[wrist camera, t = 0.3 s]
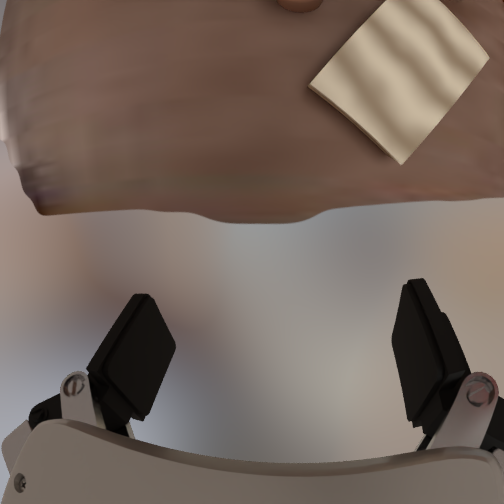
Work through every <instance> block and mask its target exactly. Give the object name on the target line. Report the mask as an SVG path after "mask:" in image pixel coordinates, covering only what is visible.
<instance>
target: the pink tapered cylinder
mask: <svg viewBox="0 0 504 504" xmlns="http://www.w3.org/2000/svg"><path fill="white" fill-rule="evenodd" d="M276 1H277V2H278V3H279V4H280V5H281V6H282V7H283V8H285V9H287V10H289V11H293V12H299V13H304V12H310V11H313V10H315V9H316V8H318V7H319V6H320V5H321V3H322V1H323V0H276Z"/></svg>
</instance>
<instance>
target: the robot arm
mask: <svg viewBox="0 0 504 504" xmlns="http://www.w3.org/2000/svg"><path fill="white" fill-rule="evenodd" d="M392 347H393V351H394V355H395V359H396V364H397V368H398V372H399V377H400V382H401V387H402V391H403V397H404V402H405V408H406V414H407V419H408V421H412V423H413V428H415V427H419V426H422V429H423V433H424V434H425V435H424V436H423V438H422V439H421V441H420V443H419V444H418V446H417V448H416V449H415V451H414V452H410V453H404V454H399V455H393V456H386V457H380V458H372V459H364V460H354V461H343V462H328V463H268V462H252V461H242V460H232V459H224V458H217V457H211V456H205V455H199V454H194V453H188V452H184V451H179V450H174V449H170V448H165V447H161V446H157V445H154V444H150V443H146V442H143V441H139V440H136V439H135V437H134V434H133V431H132V428H131V425H130V422H129V420H130V418H131V417H132V418H133V419H136V420H140V421H144V419H145V416H147V415H148V414H149V413H150V410H151V408H152V405H153V403H154V400H155V398H156V395H157V393H158V390H159V388H160V386H161V383H162V381H163V378H164V376H165V374H166V371H167V369H168V366H169V364H170V361H171V359H172V357H173V354H174V352H175V349H176V344H175V341H174V339H173V337H172V335H171V333H170V331H169V329H168V327H167V326H166V323H165V322H164V319H163V317H162V315H161V313H160V311H159V309H158V307H157V305H156V303H155V300H154V299H153V298H151V297H150V295H149V294H134V295H133V296H132V298H131V299H130V301H129V302H128V303H127V305H126V306H125V308H124V309H123V311H122V312H121V314H120V316H119V317H118V319H117V320H116V322H115V323H114V325H113V326H112V328H111V329H110V331H109V332H108V334H107V336H106V337H105V339H104V340H103V342H102V343H101V345H100V346H99V348H98V350H97V351H96V353H95V355H94V356H93V358H92V359H91V361H90V363H89V365H88V366H87V368H86V369H87V371H88V372H89V374H88V375H86V374H85V373H84V372H82V371H76V372H73V373H71V374H69V375H68V376H67V377H66V378H65V379H64V380H63V382H62V384H61V387H60V393H59V394H57V395H55V396H53V397H51V398H49V399H47V400H45V401H43V402H41V403H39V404H37V405H36V406H34V408H32V410H31V412H30V414H29V421H28V420H25V421H24V422H23V423H22V424H21V425H20V426H19V427H17V428H16V429H15V430H14V431H13V432H12V433H11V434H10V435H8V436H7V437H6V438H5V440H4V441H3V443H2V453H3V457H4V460H5V462H6V465H7V468H8V471H9V473H10V478H9V481H8V483H7V486H6V489H5V492H4V496H3V498H2V502H1V504H504V399H503V398H501V397H499V396H498V394H499V391H498V386H497V384H496V382H495V380H494V379H493V378H492V377H491V376H489V375H488V374H486V373H483V372H474V373H472V374H471V371H470V368H469V366H468V363H467V361H466V358H465V356H464V353H463V351H462V348H461V346H460V344H459V341H458V339H457V336H456V334H455V332H454V330H453V328H452V325H451V323H450V321H449V319H448V317H447V315H446V314H445V313H444V312H441V311H440V309H439V307H438V305H437V303H436V301H435V298H434V297H433V295H432V293H431V291H430V289H429V287H428V285H427V283H426V281H425V280H424V279H423V278H420V279H411V280H408V282H407V284H404V285H403V287H402V292H401V297H400V303H399V307H398V312H397V316H396V321H395V325H394V329H393V333H392Z"/></svg>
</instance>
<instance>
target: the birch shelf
mask: <svg viewBox="0 0 504 504" xmlns="http://www.w3.org/2000/svg"><path fill="white" fill-rule="evenodd" d="M489 58H490V57H489V56H488V55H487V53H486V52H485V51H484V49H483V48H482V47H481V45H480V44H479V43H478V42H477V40H476V39H475V38H474V37H473V36H472V34H471V33H470V32H469V31H468V30H467V29H466V28H465V26H464V25H463V24H462V23H461V22H460V21H459V20H458V19H457V18H456V17H455V16H454V14H453V13H452V12H451V11H450V10H449V9H448V8H447V7H446V6H445V5H444V4H443V3H442V2H441V1H439V0H386V1H385V2H384V3H383V4H382V5H381V6H380V7H379V8H378V9H377V10H376V11H375V12H374V13H373V14H372V15H371V16H370V17H369V18H368V19H367V20H366V21H365V22H364V24H363V25H362V26H361V27H360V28H359V29H358V30H357V31H356V32H355V33H354V34H353V35H352V36H351V37H350V38H349V40H348V41H347V42H346V43H345V44H344V45H343V46H342V47H341V48H340V50H339V51H338V52H337V53H336V54H335V55H334V56H333V57H332V59H331V60H330V61H329V62H328V63H327V64H326V65H325V67H324V68H323V69H322V70H321V71H320V72H319V73H318V74H317V76H316V77H315V78H314V79H313V80H312V82H311V83H310V84H309V85H308V86H307V87H309V88H310V89H311V90H313V91H314V92H315V93H317V94H318V95H319V96H320V97H322V98H323V99H324V100H326V101H327V102H328V103H329V104H331V105H332V106H333V107H334V108H336V109H337V110H338V111H339V112H340V113H342V114H343V115H344V116H345V117H346V118H347V119H349V120H350V121H351V122H352V123H353V124H354V125H356V126H357V127H358V128H359V129H360V130H361V131H362V132H363V133H364V134H365V135H367V136H368V137H369V138H370V139H371V140H372V141H373V142H374V143H375V144H376V145H377V146H378V147H379V148H380V149H381V150H382V151H383V152H384V153H385V154H386V155H388V156H389V157H391V158H392V159H393V160H395V161H396V162H398V163H399V164H400V165H402V164H403V163H404V162H405V161H406V160H407V158H408V157H409V156H410V155H411V154H412V153H413V152H414V151H415V149H416V148H417V147H418V146H419V145H420V144H421V142H422V141H423V140H424V139H425V138H426V137H427V136H428V134H429V133H430V132H431V131H432V130H433V128H434V127H435V126H436V125H437V124H438V123H439V121H440V120H441V119H442V118H443V117H444V115H445V114H446V113H447V112H448V111H449V109H450V108H451V107H452V106H453V104H454V103H455V102H456V101H457V99H458V98H459V97H460V96H461V94H462V93H463V92H464V91H465V89H466V88H467V87H468V86H469V84H470V83H471V82H472V80H473V79H474V78H475V76H476V75H477V74H478V73H479V71H480V70H481V69H482V67H483V66H484V65H485V63H486V62H487V61H488V59H489Z"/></svg>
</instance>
